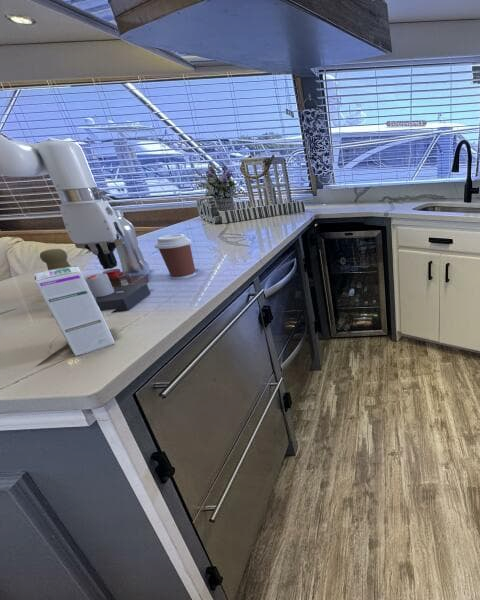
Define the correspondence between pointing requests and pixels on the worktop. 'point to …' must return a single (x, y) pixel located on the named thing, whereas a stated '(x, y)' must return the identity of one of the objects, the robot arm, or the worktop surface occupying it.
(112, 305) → the panel
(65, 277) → the syrup box
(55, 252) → the cork
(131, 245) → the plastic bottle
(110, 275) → the ignition button
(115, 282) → the ignition block
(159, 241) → the coffee cup
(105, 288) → the stove knob
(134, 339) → the worktop surface
